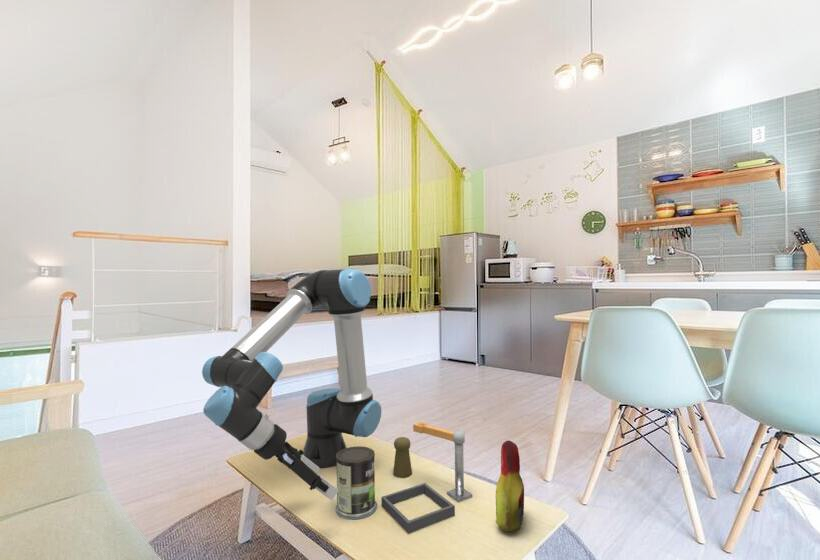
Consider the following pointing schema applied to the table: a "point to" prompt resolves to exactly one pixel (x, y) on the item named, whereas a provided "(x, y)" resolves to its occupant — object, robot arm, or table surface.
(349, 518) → the slate coaster
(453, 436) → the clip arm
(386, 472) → the table surface
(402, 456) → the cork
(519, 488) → the bottle
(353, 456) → the coffee can
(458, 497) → the post
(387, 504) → the square picture frame
